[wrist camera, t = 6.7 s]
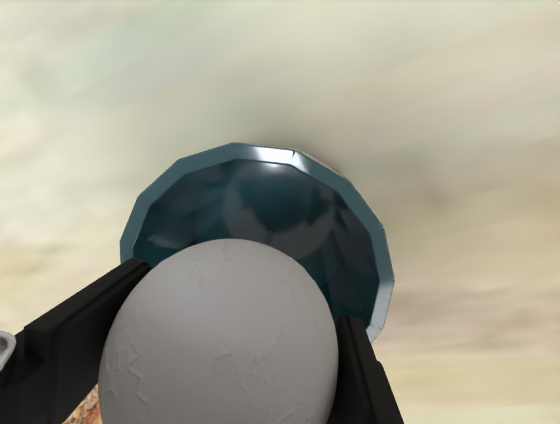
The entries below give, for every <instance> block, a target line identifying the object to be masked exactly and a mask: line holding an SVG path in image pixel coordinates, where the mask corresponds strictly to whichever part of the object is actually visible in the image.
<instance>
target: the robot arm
mask: <svg viewBox="0 0 560 424" xmlns="http://www.w3.org/2000/svg"><path fill="white" fill-rule="evenodd" d="M151 270H152V268H151V266H148V262H147V261H143V260H140V259H136V258H130V259H128V260H127V261H125V262H124V263H122V264H121V265H119V266H118V267H116V268H114V269H113V270H111V271H110V272H108V273H107V274H105V275H104V276H102V277H101V278H99V279H97V280H96V281H94V282H93V283H91V284H90V285H88V286H87V287H85V288H84V289H82V290H80V291H79V292H77V293H76V294H74V295H73V296H71V297H70V298H68V299H67V300H65V301H63V302H62V303H60V304H59V305H57V306H56V307H54V308H53V309H51V310H50V311H48V312H47V313H45V314H43V315H42V316H40V317H39V318H37V319H36V320H34V321H33V322H31V323H30V324H28V325H26V326H25V327H24V330H22V331H21V332H19V333H17V334H16V335H14V336H13V335H12V334H11V333H8V332H4V331H0V424H62V423H64V422H65V421H66V420H67V419H68V417H69V416H70V415H71V414H72V413H73V412H74V410H75V409H76V408H77V407H78V406H79V405H80V403H81V402H82V401H83V400H84V399H85V398H86V397H87V395H88V394H89V393H90V392H91V391H92V390H93V388H94V387H95V386H96V385H97V384H98V377H99V369H100V362H101V357H102V352H103V348H104V345H105V342H106V339H107V336H108V333H109V331H110V328H111V326H112V324H113V322H114V319H115V317H116V315H117V313H118V311H119V310H120V308H121V306H122V305H123V303H124V301H125V300H126V298H127V297H128V296H129V294H130V293H131V291H132V290H133V289H134V288H135V286H136V285H137V284H138V283H139V282H140V281H141V280H142V279H143V278H144V277H145V276H146V275H147V274H148V273H149V272H150V271H151ZM335 331H336V336H337V343H338V375H337V385H336V393H335V398H334V402H333V406H332V409H331V412H330V415H329V417H328V420H327V422H326V424H404V422H403V419H402V417H401V414H400V411H399V409H398V406H397V403H396V401H395V398H394V395H393V393H392V390H391V387H390V384H389V382H388V379H387V376H386V374H385V371H384V368H383V366H382V364H381V363H380V362H379V361H377V360H376V357H375V354H374V351H373V349H372V346H371V343H370V340H369V337H368V334H367V332H366V329H365V326H364V323H363V320H362V319H361V318H359V317H355V316H351V315H347V314H346V315H345V316H344V318H343V317H340V318H339V320H338V322H337V325H336V328H335Z"/></svg>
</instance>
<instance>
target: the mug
mask: <svg viewBox="0 0 560 424" xmlns="http://www.w3.org/2000/svg"><path fill="white" fill-rule="evenodd" d="M268 230H272V232H273V233H274V237H273V240H272V243H271V247H273V248H275V249H277V250H279V251H281V252H282V253H284V254H286V255H287V256H289V257H291V258H293V259H294V260H295V261H296V262H297V263H299V264H300V265H301V266H302V267H303V268H304V269H305V270H306V272H307V273H308V274H309V275H310V276H311V278H312V279H313V280H314V281H315V282H316V284H317V286H318V287H319V289H320V291H321V292H322V294H323V295H324V297H325V300H326V302H327V304H328V307H329V309H330V313H331V316H332V319H333V322H334V325H335V328H336V325H337V322H338V320H339V318H340V317H343V318H344V316H345V315H346V314H347V315H351V316H355V317H359V318H361V319H362V320H363V323H364V326H365V329H366V332H367V334H368V337H369V340H370V343H372V342H373V341H374V339H375V338H376V337H377V336H378V334H379V333H380V332H381V331H382V328H383V326H384V322H385V318H386V314H387V310H388V306H389V302H390V298H391V294H392V290H393V286H394V282H395V280H394V273H393V269H392V264H391V259H390V254H389V249H388V244H387V240H386V235H385V230H384V228H383V225H382V224H381V222H380V221H379V220H378V218H377V217H376V216H375V214H374V213H373V212H372V210H371V209H370V208H369V206H368V205H367V203H366V202H365V201H364V199H363V198H362V197H361V195H360V194H359V193H358V191H357V190H356V189H355V187H354V186H353V185H352V183H351V182H350V181H349V180H348V179H347V178H345V177H344V176H342V175H341V174H339V173H338V172H336V171H335V170H333V169H332V168H330V167H329V166H327V165H325V164H323V163H322V162H320V161H318V160H316V159H315V158H313V157H311V156H309V155H308V154H306V153H304V152H302V151H301V150H299V149H296V148H287V147H279V146H270V145H261V144H249V143H237V142H236V143H229V144H226V145H223V146H220V147H216V148H213V149H210V150H207V151H204V152H200V153H197V154H194V155H191V156H187V157H184V158H181V159H179V160H177V161H176V162H175V163H174V164H173V165H172V166H170V167H169V168H168V169H167V170H166V171H165V172H164V173H163V174H162V175H161V176H159V177H158V178H157V179H156V180H155V181H154V182H153V183H152V184H151V185H150V186H149V187H147V188H146V189H145V190H144V191H143V192H142V193H141V194H140V195H139V196H138V197H137V200H136V202H135V205H134V207H133V210H132V212H131V215H130V217H129V220H128V222H127V225H126V227H125V230H124V232H123V235H122V237H121V240H120V260H121V264H122V263H124V262H125V261H127V260H128V259H130V258H136V259H140V260H143V261H147V262H148V266H151V268H152V269H154V268H155V267H156V266H157V265H158V264H159V263H160V262H162V261H163V260H165V259H167V258H169V257H170V256H172V255H174V254H176V253H178V252H180V251H182V250H184V249H186V248H188V247H191V246H193V245H197V244H200V243H203V242H207V241H212V240H218V239H244V240H250V241H254V242H259V243H261V242H262V240H263V238H264V235H265V233H266V232H267V231H268Z"/></svg>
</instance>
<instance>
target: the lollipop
mask: <svg viewBox="0 0 560 424" xmlns="http://www.w3.org/2000/svg"><path fill="white" fill-rule="evenodd" d="M273 237H274V233H273V232H272V230H268V231H267V232H266V233H265V235H264V238H263V240H262V242H261V243H259V242H254V241H250V240H244V239H218V240H212V241H207V242H203V243H200V244H197V245H193V246H191V247H188V248H186V249H184V250H182V251H180V252H178V253H176V254H174V255H172V256H170V257H169V258H167V259H165V260H163V261H162V262H160V263H159V264H158V265H157V266H156V267H155V268H154V269H152V270H151V271H150V272H149V273H148V274H147V275H146V276H145V277H144V278H143V279H142V280H141V281H140V282H139V283H138V284H137V285H136V286H135V288H134V289H133V290H132V291H131V293H130V294H129V296H128V297H127V298H126V300H125V301H124V303H123V305H122V306H121V308H120V310H119V311H118V313H117V315H116V317H115V319H114V322H113V324H112V326H111V328H110V331H109V333H108V336H107V339H106V342H105V345H104V348H103V352H102V357H101V362H100V369H99V377H98V397H99V407H100V415H101V419H102V423H103V424H326V422H327V420H328V417H329V415H330V412H331V409H332V406H333V402H334V398H335V393H336V385H337V375H338V343H337V336H336V331H335V325H334V322H333V319H332V316H331V313H330V309H329V307H328V304H327V302H326V300H325V297H324V295H323V294H322V292H321V291H320V289H319V287H318V286H317V284H316V282H315V281H314V280H313V279H312V278H311V276H310V275H309V274H308V273H307V272H306V270H305V269H304V268H303V267H302V266H301V265H300V264H299V263H297V262H296V261H295V260H294V259H293V258H291V257H289V256H287V255H286V254H284V253H282V252H281V251H279V250H277V249H275V248H273V247H271V243H272V240H273Z"/></svg>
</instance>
